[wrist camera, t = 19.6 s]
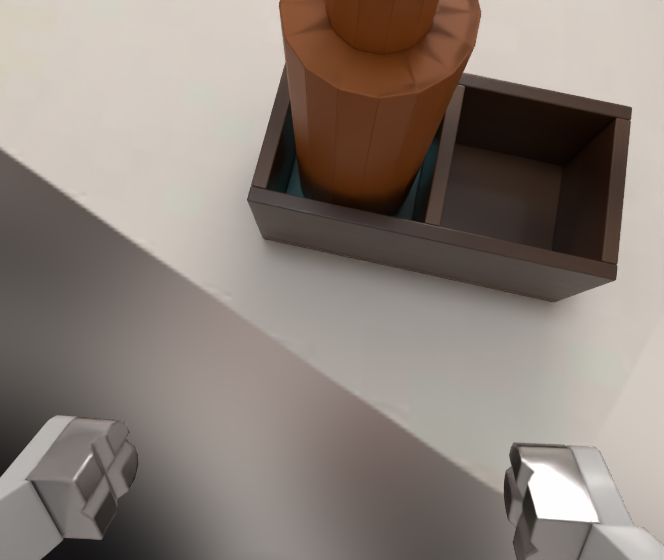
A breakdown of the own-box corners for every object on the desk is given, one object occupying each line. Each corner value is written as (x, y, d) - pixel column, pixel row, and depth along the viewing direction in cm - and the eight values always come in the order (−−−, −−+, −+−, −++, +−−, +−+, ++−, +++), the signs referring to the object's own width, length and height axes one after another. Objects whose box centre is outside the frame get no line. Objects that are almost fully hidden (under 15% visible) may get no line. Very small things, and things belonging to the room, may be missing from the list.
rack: (554, 302, 25) (616, 280, 20) (262, 238, 26) (246, 200, 20) (571, 161, 27) (632, 106, 22) (298, 104, 28) (292, 36, 22)
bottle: (397, 241, 25) (516, 7, 10) (287, 215, 25) (230, -54, 10) (418, 141, 26) (556, -209, 11) (314, 117, 27) (302, -259, 11)
